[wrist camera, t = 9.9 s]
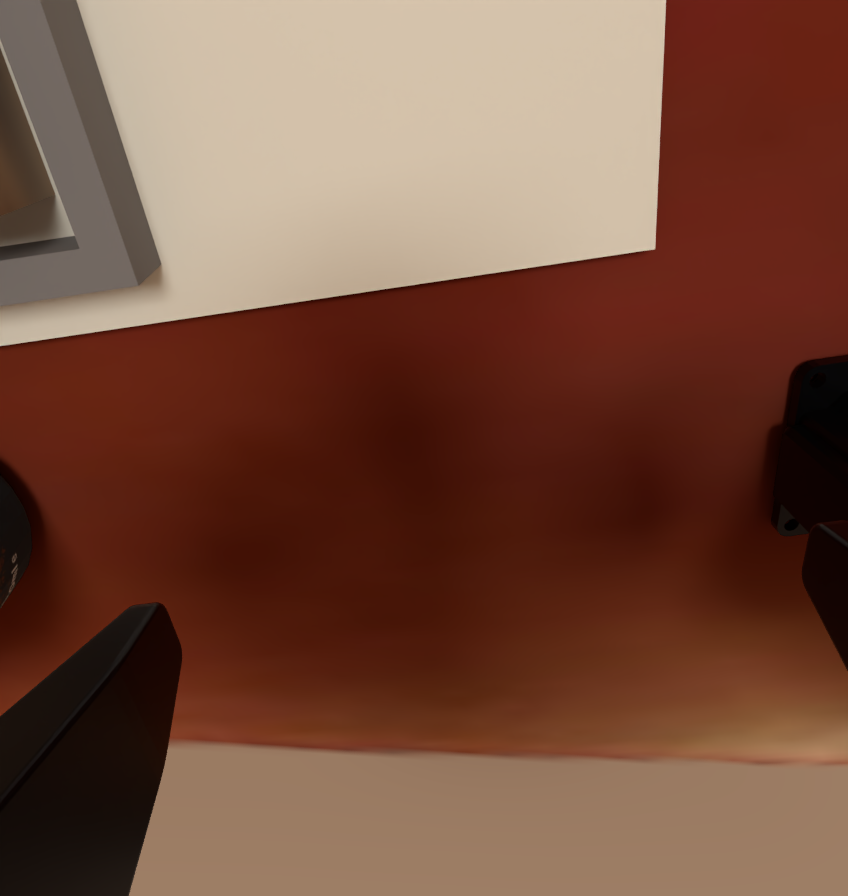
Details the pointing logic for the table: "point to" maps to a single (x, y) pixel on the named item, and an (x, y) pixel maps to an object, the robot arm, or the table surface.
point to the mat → (319, 149)
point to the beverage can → (12, 540)
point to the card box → (18, 152)
